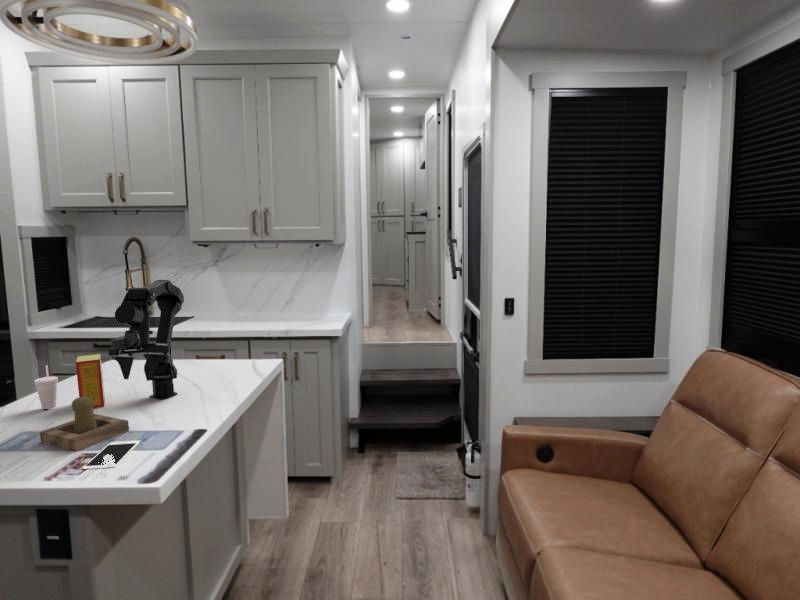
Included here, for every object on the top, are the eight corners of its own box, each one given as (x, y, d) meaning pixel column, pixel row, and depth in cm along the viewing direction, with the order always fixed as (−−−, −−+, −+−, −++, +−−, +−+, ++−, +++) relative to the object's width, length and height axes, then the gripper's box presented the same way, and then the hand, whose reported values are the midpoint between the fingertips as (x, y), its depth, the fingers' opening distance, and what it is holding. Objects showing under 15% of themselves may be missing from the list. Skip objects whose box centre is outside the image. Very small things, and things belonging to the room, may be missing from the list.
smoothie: (65, 406, 168) (61, 364, 166) (45, 412, 162) (40, 369, 160) (53, 403, 171) (48, 362, 169) (32, 409, 165) (27, 367, 163)
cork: (76, 442, 138) (72, 402, 136) (71, 436, 142) (67, 397, 141) (101, 436, 142) (97, 397, 140) (95, 430, 146) (92, 392, 145)
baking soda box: (82, 402, 172) (77, 355, 170) (104, 398, 175) (100, 352, 173) (80, 410, 164) (75, 361, 162) (104, 406, 167) (99, 358, 165)
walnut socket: (40, 442, 138) (39, 431, 138) (94, 423, 152) (93, 413, 151) (76, 451, 132) (75, 440, 132) (129, 430, 145) (128, 420, 145)
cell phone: (141, 442, 138) (141, 439, 138) (115, 469, 122) (115, 466, 122) (110, 444, 137) (110, 442, 137) (80, 471, 121) (80, 469, 121)
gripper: (93, 327, 155) (91, 380, 152) (140, 322, 148) (138, 377, 146) (125, 330, 165) (123, 379, 163) (170, 326, 159) (169, 377, 156)
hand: (137, 378), depth 156 cm, fingers open, 9 cm apart
